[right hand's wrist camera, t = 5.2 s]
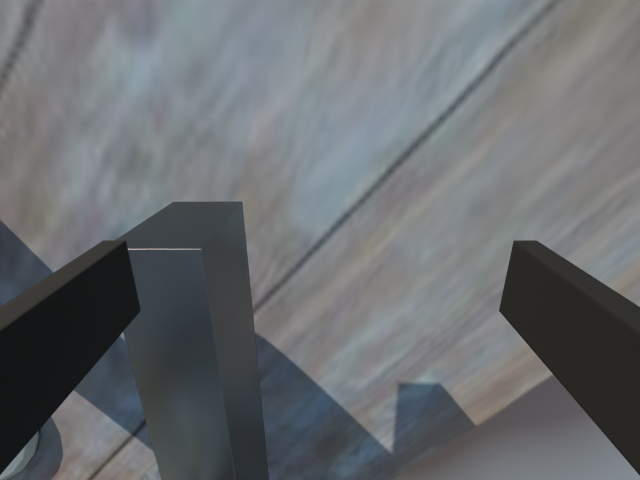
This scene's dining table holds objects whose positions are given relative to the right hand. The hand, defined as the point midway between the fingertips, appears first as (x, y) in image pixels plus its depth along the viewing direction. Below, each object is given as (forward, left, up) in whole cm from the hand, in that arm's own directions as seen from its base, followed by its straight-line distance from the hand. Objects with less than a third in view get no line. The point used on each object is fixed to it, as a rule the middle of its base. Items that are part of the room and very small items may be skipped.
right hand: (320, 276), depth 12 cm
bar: (+4, +21, -15) cm, 26 cm away
